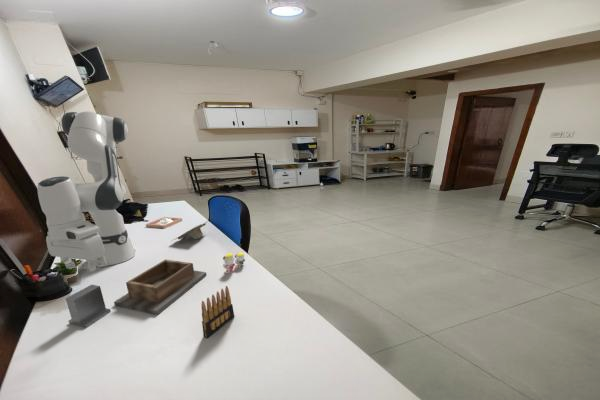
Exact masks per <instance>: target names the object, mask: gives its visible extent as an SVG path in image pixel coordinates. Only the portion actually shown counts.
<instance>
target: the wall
mask: <svg viewBox="0 0 600 400" xmlns="http://www.w3.org/2000/svg"><path fill="white" fill-rule="evenodd" d="M206 223H208V221H206V222H204V223H202V224H199V225H196V226H194V227H193V228H191V229H189V230H188V231H185V232H184V233H183V234H181V235H179V236H178V237H176V238H174V239H172V240H171V242H172V241H175V240H176V239H178V240H181V239H184V238H186V237H187V236H191V238H193V239H194V240H197V239H200V238H201V237H203V236H204V234H203V232H202V230H201V228H202V227H204V226H206V225H207V224H206Z"/></svg>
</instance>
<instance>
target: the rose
mask: <svg viewBox="0 0 600 400" xmlns="http://www.w3.org/2000/svg"><path fill="white" fill-rule="evenodd" d="M170 222H173V220H171V219H168V218H164V219H162V220H161V221H160V222H158V223H157V224H158V225H166V224H168V223H170Z"/></svg>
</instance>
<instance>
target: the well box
mask: <svg viewBox="0 0 600 400" xmlns="http://www.w3.org/2000/svg"><path fill="white" fill-rule="evenodd" d="M206 276H207V272H206V271H199V270H195V269H194V263H193V262H187V261H186V262H185V261H178V260H171V259H164V260H162V261H160V262H159V263H157V264H156V265H153V266H152V267H150V268H148V269H147V270H145V271H143V272H142V273H140V274H138V275H137V276H135V277H133V278H131V279H130V280H128V281H126V282H125V284H126V289H127V292H128V293H126V294H125V295H122V296H121V297H119V298H118V299H116V300H115V301H113V304H114V306H115V307H119V308H125V309H128V310H133V311H138V312H143V313H147V314H151V315H157V316H158V315H160V314H161V313H162V312H163V311H165V310H166V309H167V308H168V307H170V306H171V305H172V304H173V303H174V302H176V300H178V299H179V298H181V297H182V296H183V295H184V294H186V292H188V291H189V290H190V289H191V288H193V287H195V285H197V284H198V283H200V281H202V280H203V279H204V278H205V277H206Z"/></svg>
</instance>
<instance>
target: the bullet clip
mask: <svg viewBox="0 0 600 400" xmlns="http://www.w3.org/2000/svg"><path fill="white" fill-rule="evenodd" d="M230 294H231V293H230V289H229V286H227V285H225V288H221V289H220V292H219V291H218V290H217V291H216V297H215V294H213V293H212V294H211V299H210V297H206V303H205V301H204V300H201V317H202V321H201V323H202V324H201V325H202V331H203V332H202V333H203V337H205V338H206V339H209V338H210V337H211V336H212V335H214V334H215V333H217V332H218V331H219V330H220V329H221V328H222V327H224V326H225V325H226V324H228V323H229V322H230V321H232V320H233V319H235V311H234V306H233V304H232V299H231V295H230Z"/></svg>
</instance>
